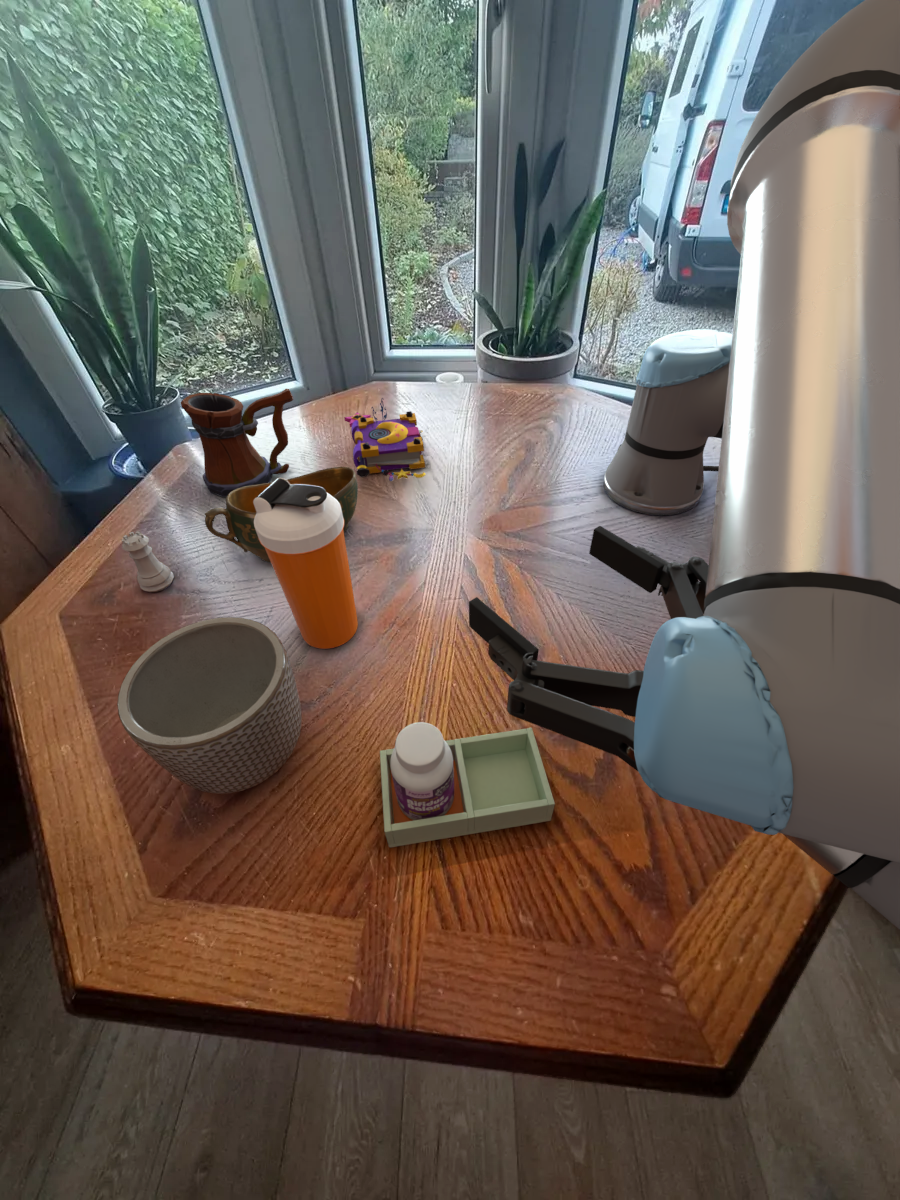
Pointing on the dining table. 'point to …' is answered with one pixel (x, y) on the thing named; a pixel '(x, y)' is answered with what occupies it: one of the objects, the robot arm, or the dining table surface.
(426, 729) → the pill bottle
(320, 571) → the shaker bottle
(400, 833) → the tray
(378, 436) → the book
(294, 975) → the dining table surface
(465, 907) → the dining table surface
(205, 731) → the planter
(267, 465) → the mug
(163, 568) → the rook chess piece
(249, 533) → the creamer
